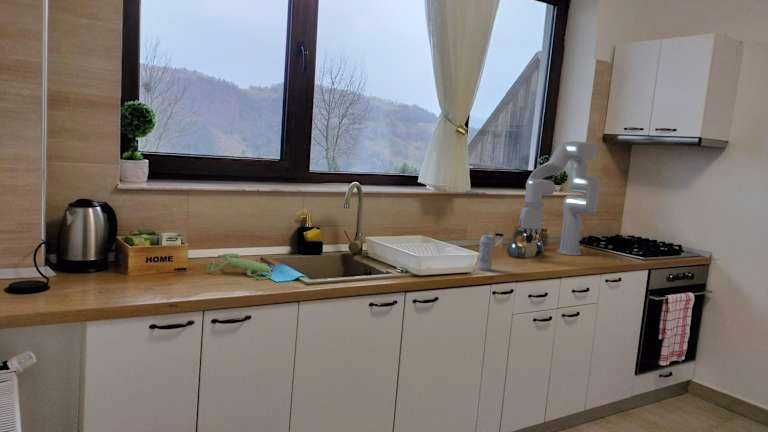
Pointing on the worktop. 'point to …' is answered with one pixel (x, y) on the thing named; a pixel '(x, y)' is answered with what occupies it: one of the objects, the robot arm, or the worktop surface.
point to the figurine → (243, 265)
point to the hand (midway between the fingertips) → (528, 242)
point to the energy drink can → (485, 252)
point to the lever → (521, 238)
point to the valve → (525, 249)
